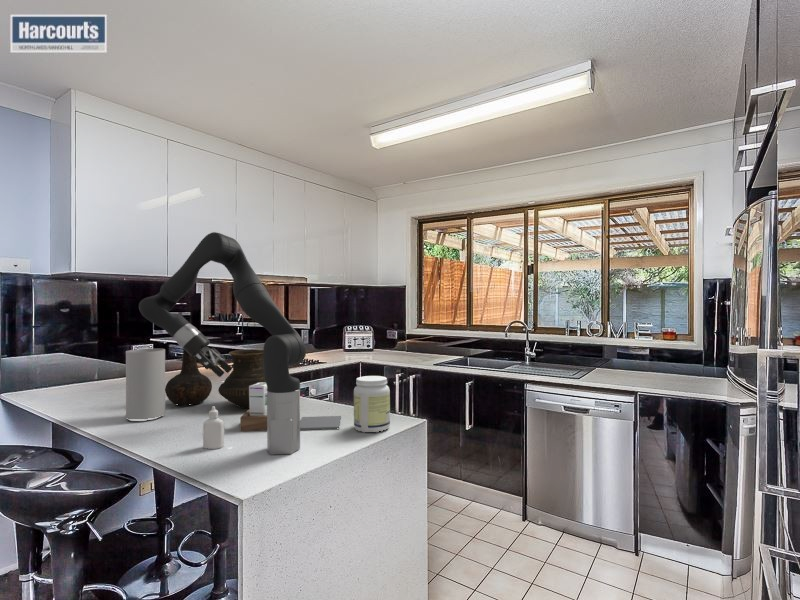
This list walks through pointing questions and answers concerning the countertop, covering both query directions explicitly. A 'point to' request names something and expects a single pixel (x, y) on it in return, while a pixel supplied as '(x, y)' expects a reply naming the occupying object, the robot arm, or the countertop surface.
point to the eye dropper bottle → (213, 431)
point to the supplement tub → (371, 404)
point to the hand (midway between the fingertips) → (226, 372)
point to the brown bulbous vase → (188, 384)
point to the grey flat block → (320, 422)
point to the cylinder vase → (145, 383)
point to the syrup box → (258, 399)
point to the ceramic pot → (243, 376)
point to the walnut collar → (252, 422)
